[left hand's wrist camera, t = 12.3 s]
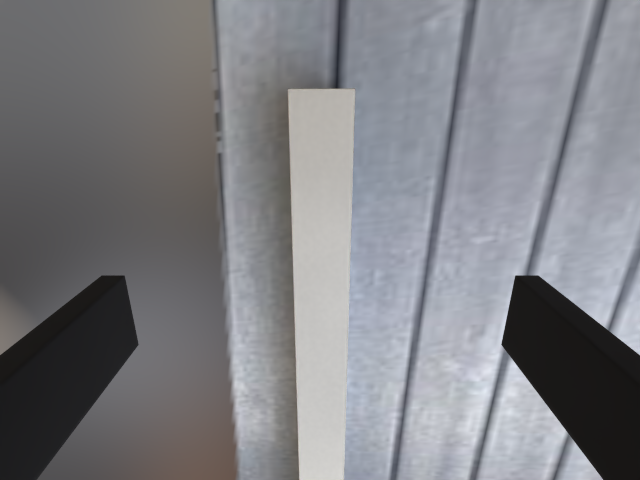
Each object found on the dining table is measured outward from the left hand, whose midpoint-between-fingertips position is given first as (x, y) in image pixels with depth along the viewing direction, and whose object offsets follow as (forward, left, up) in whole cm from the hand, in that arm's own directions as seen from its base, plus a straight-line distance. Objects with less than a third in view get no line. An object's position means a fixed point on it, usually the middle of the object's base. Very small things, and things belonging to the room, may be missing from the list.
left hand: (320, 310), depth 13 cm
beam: (+21, +15, -24) cm, 35 cm away
